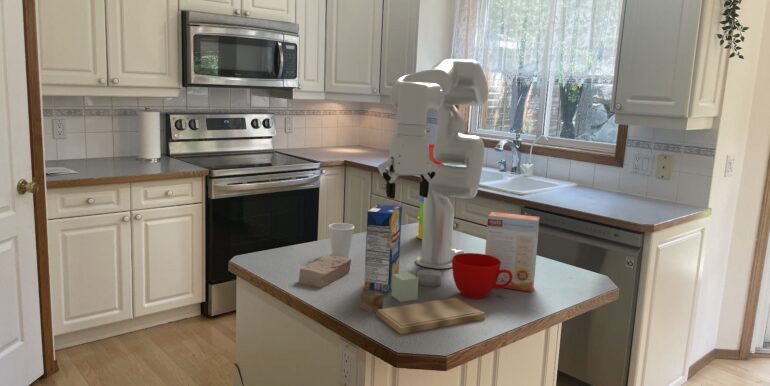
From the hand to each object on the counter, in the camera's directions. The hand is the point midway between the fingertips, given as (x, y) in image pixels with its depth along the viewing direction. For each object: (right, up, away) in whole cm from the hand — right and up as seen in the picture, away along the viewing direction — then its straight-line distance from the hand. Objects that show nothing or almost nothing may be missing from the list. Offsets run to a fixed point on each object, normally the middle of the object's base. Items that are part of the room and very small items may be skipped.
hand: (407, 197), depth 159 cm
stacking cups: (+11, -16, +68) cm, 70 cm away
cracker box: (+30, -26, +18) cm, 43 cm away
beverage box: (-7, -25, +13) cm, 29 cm away
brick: (-23, -24, +18) cm, 38 cm away
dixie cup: (-20, -19, +40) cm, 49 cm away
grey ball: (+7, -25, +18) cm, 31 cm away
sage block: (-1, -27, +4) cm, 27 cm away
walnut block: (-9, -28, -5) cm, 30 cm away
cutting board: (+5, -29, -9) cm, 31 cm away
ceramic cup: (+20, -27, +8) cm, 35 cm away
